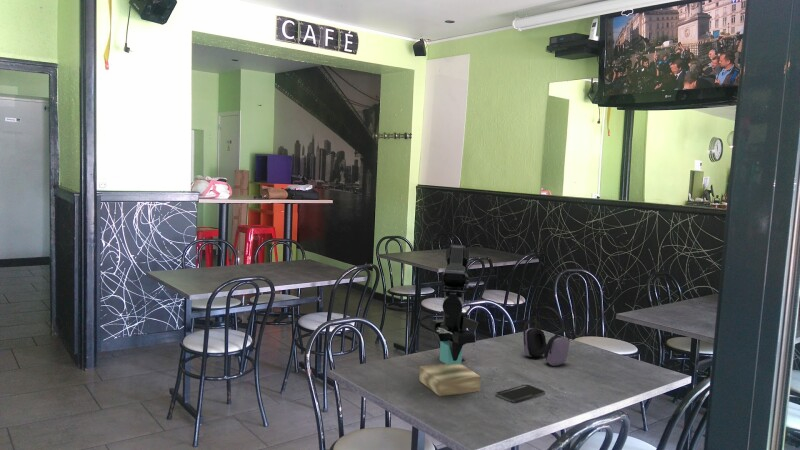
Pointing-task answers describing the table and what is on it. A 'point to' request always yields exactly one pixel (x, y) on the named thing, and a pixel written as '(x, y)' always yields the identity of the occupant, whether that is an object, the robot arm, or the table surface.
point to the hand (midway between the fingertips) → (450, 357)
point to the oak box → (449, 379)
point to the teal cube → (448, 354)
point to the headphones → (537, 344)
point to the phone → (520, 393)
